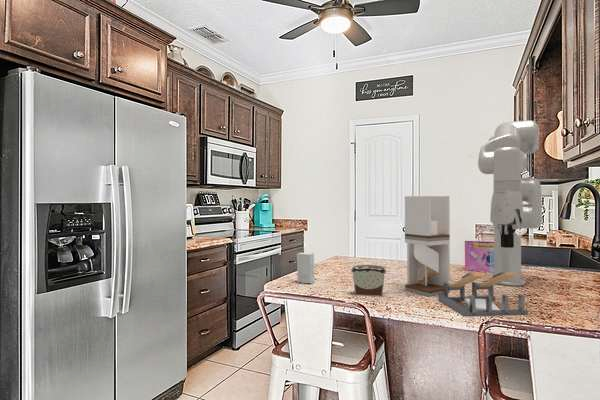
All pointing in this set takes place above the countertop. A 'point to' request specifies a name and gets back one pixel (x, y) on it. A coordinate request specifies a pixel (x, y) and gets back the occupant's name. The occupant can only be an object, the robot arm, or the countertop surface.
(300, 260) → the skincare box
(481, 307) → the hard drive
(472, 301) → the grey dish rack
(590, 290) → the countertop surface
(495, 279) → the strap
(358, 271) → the food container
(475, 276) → the strap
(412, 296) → the countertop surface
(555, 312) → the countertop surface
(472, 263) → the gum box
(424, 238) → the white dispenser tower
